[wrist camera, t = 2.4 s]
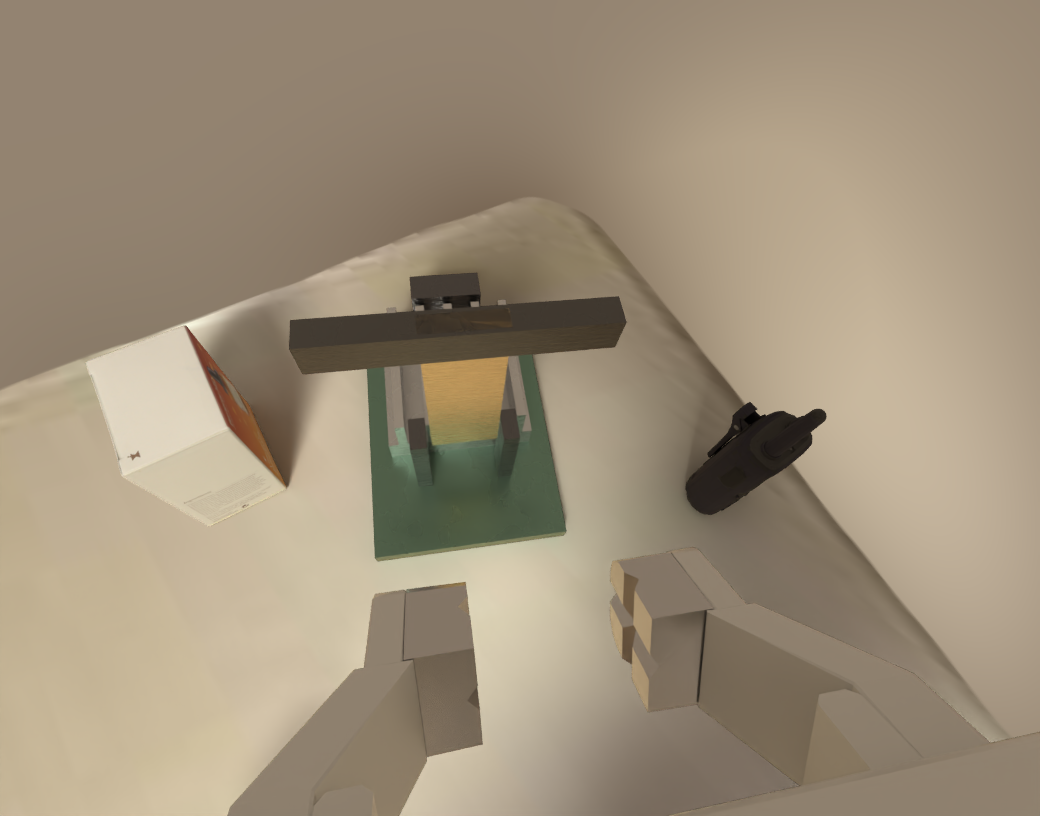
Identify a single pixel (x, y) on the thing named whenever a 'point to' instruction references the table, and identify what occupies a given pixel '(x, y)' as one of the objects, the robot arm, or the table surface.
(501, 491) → the board
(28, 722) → the table surface
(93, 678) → the table surface
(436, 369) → the lever
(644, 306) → the table surface
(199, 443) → the small box
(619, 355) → the table surface
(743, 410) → the two-way radio
